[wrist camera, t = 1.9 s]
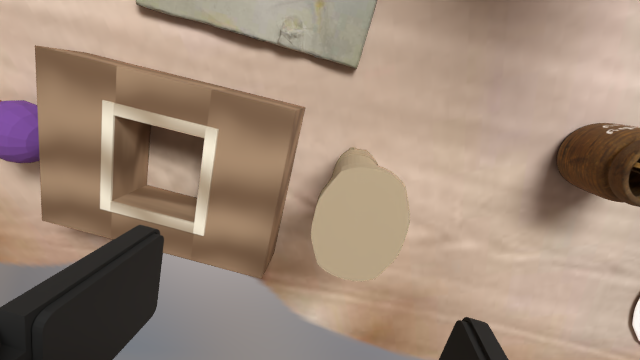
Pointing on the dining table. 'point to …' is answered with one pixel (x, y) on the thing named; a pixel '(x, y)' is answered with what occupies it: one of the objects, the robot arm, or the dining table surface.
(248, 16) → the decorative slab
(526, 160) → the dining table surface
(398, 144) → the dining table surface
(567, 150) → the utensil holder
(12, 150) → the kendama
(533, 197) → the dining table surface
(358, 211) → the handle
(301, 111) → the brown flat block
